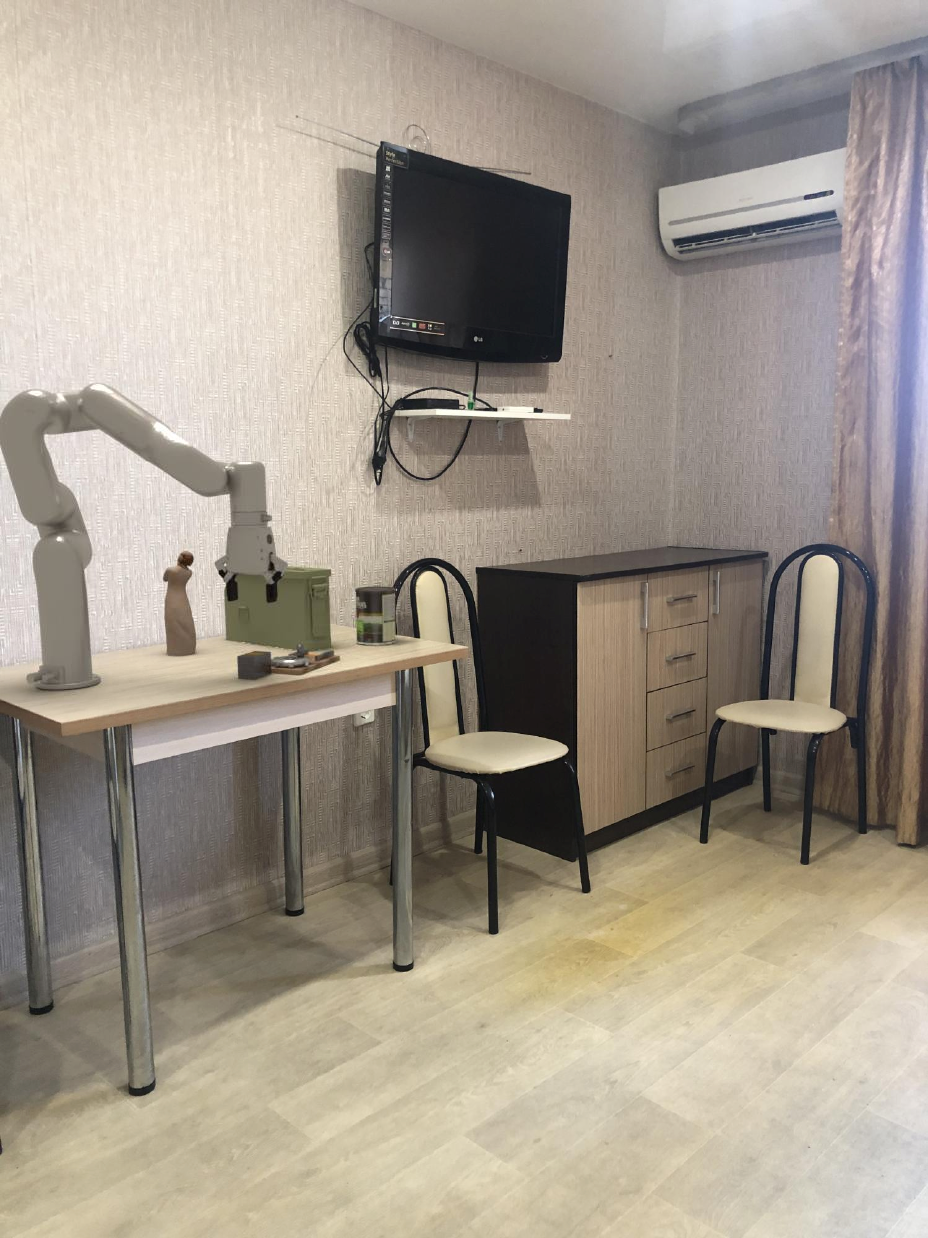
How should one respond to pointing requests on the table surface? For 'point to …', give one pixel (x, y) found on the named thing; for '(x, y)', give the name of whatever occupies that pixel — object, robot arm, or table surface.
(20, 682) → the table surface
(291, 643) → the ammunition box
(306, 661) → the sprocket
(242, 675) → the charcoal rectangular block
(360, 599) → the coffee can
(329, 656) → the board
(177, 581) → the figurine
